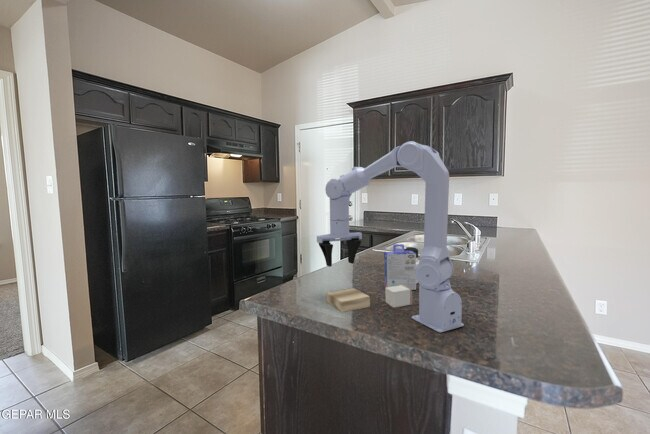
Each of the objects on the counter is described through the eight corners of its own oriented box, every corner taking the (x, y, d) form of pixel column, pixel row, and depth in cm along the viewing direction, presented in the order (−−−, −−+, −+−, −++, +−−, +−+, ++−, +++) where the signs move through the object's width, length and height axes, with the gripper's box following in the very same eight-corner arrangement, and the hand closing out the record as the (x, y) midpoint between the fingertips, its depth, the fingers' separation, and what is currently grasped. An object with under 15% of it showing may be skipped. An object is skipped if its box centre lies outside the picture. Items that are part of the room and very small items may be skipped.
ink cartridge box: (412, 285, 105) (412, 243, 104) (417, 290, 99) (417, 246, 98) (383, 285, 105) (383, 244, 104) (386, 291, 99) (386, 246, 98)
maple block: (369, 306, 85) (369, 296, 85) (341, 312, 82) (341, 301, 81) (353, 297, 94) (353, 287, 93) (326, 302, 90) (326, 292, 89)
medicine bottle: (422, 279, 111) (422, 247, 111) (416, 284, 105) (416, 250, 105) (402, 277, 115) (402, 245, 114) (396, 281, 109) (396, 248, 108)
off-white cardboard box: (393, 308, 85) (412, 304, 86) (393, 291, 84) (412, 289, 86) (385, 302, 89) (403, 299, 91) (385, 287, 89) (403, 284, 90)
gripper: (353, 217, 98) (353, 259, 99) (312, 220, 92) (313, 264, 93) (365, 219, 92) (365, 263, 93) (322, 221, 86) (323, 269, 87)
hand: (340, 264), depth 93 cm, fingers open, 7 cm apart
